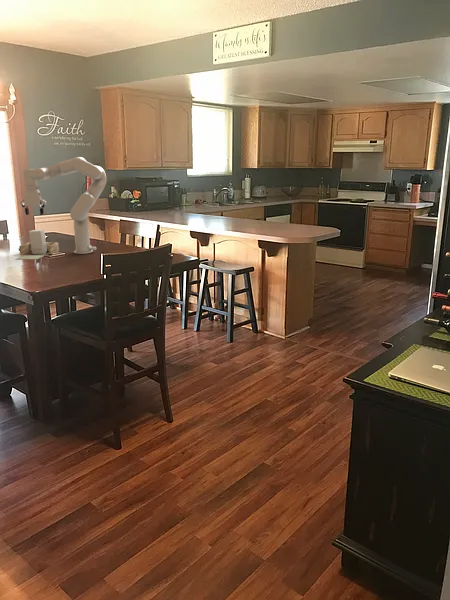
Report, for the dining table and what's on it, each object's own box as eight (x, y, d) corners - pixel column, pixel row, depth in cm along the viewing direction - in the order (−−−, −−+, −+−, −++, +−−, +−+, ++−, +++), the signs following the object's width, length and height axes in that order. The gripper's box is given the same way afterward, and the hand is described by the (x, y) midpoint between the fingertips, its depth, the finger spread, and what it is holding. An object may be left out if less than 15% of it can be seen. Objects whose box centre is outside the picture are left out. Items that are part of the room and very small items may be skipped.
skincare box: (47, 252, 339) (45, 229, 335) (43, 254, 333) (40, 231, 328) (35, 252, 340) (33, 229, 336) (31, 254, 334) (28, 231, 329)
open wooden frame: (58, 251, 344) (58, 242, 342) (51, 255, 330) (50, 246, 328) (29, 251, 344) (28, 242, 343) (20, 254, 331) (19, 246, 329)
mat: (44, 255, 327) (44, 255, 327) (37, 259, 316) (37, 258, 316) (23, 255, 328) (23, 255, 328) (15, 259, 316) (15, 258, 316)
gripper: (46, 187, 328) (49, 213, 332) (21, 188, 328) (24, 214, 333) (42, 188, 320) (45, 215, 325) (15, 188, 321) (19, 215, 326)
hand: (34, 214), depth 329 cm, fingers open, 9 cm apart
